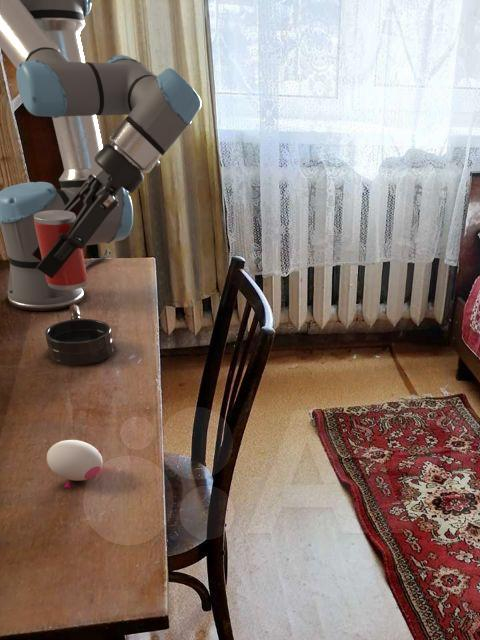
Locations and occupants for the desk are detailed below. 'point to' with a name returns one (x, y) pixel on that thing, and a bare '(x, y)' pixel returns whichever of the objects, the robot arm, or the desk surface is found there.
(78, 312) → the skillet handle
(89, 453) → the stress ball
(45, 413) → the desk surface
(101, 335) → the skillet
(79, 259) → the tomato can
